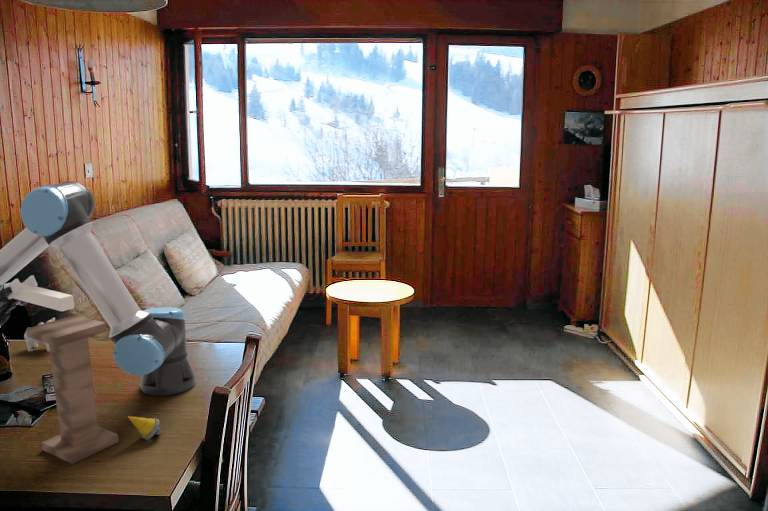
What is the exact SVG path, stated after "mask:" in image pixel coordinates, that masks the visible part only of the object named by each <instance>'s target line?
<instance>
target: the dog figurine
mask: <svg viewBox="0 0 768 511" xmlns="http://www.w3.org/2000/svg"><path fill="white" fill-rule="evenodd" d="M55 320H56V317H52V318H51V319H49V320H47V321H46V322H45V323H48V322H52V321H55ZM45 323H44V322H39V323H38V324H37V325H41V324H45ZM23 338H24V340H25V344H26V349H27V352H33V351H34V350H33V348H39V345H38V342H40V343H42V344H44V345H45V348H46V352H49V353H50V350H49V344H48V343H44V342H41V341H38V340H35V339H32V338H29V337H27V330H25V332H24V335H23ZM32 346H33V348H32Z"/></svg>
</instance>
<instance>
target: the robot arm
mask: <svg viewBox="0 0 768 511" xmlns="http://www.w3.org/2000/svg"><path fill="white" fill-rule="evenodd" d="M95 208H96V202H95V197H94V195H93V193H92V191H91V190H90V189H89V188H88V187H87V186H86V185H84V184H83V183H80V182H76V181H70V180H68V181H63V182H58V183H54V184H44V185H41V186H40V187H37V188H34V189H32V190H30V191H29V192H28V193H27V194H26V195H25V197H24V198H23V199H22V202H21V207H20V211H19V212H20V217H21V221H22V223H23V225H24V226H25V228H23V229H22V230H21V231H20V232H19V233H18V234H17V235H16V236H14V238H12V239H11V240H10V241H9V242H7V244H5V245H4V246H3V247H2V248H1V249H0V327H1V326H2V325H4V324H5V323H6V322H7V321H8V320H9V318H10V316H11V311H12V310H14V309H16V307H17V306H18V305H19V306H21V307H22V306H23V307H26V306H27V305H28V302H25V301H21V300H17V299H14V298H13V297H14V296H15V295H16V294H17V293H18V292H19V291H21V290H22V286H21V284H20V283H21V282H20V280H19V278H15V279H14V280H12V281H11V282H9V283H10V284H9V285H8V286H7V287H6V288H5V289H4V284H7V282H8V281H9V280H11V279H12V278H13V277H14V276H16V275H17V273H19V272H20V271H22V270H23V268H25V267H26V266H27V265H28V264H30V262H32V261H33V260H34V259H35V258H37V257H38V256H39V255H40V254H42V253H43V252H44V251H45V250H46V249H47V248H48V247H52V248H56V249H58V250H59V251H60V253H61V254H62V256H63V258H64V259H65V261H66V262H67V264H68V265H69V267H70V268H71V269H72V271H73V273H74V274H75V276H76V277H77V279H78V280H79V282H80V284H81V285H82V287H83V288H84V289H85V291H86V292H87V294H88V296H89V297H90V299H91V300H92V302H93V303H94V305H95V306H96V307H97V309H98V311H99V312H100V314H101V315H102V317H103V318H104V320H105V322H106V324H107V325H108V326H109V328H110V330H109V335H108V337H109V339H110V341H111V342H112V344H113V345H114V347H113V356H112V357H113V360H114V361H115V364H116V365H117V367H118V368H119V369H120V370H122V371H123V372H124V373H126V374H129V375H133V376H141V379H140V390H141V392H142V393H144V394H145V395H147V396H148V395H149V396H154V397H155V396H156V397H158V396H159V397H163V396H166V397H167V396H172V395H177V394H180V393H185V392H186V391H189V390H190V389H192V388H194V386H195V385H196V382H197V380H196V373H195V371H194V368H193V367H192V364H191V361H190V360H189V356H188V346H187V334H186V331H187V330H186V318H185V313H184V310H183V309H181V308H180V307H175V306H173V307H172V306H171V307H170V306H169V307H168V306H167V307H166V306H164V307H163V306H162V307H161V306H160V307H153V308H151V307H150V308H147V309H144V310H142V309H141V308H140V307H139V305H138V304H137V302H136V300H135V299H134V298H133V296H132V295H131V292H130V291H129V290H128V288H127V287H126V286H125V284H124V282H123V280H122V279H121V276H119V274H118V272H117V271H116V269H115V267H114V266H113V265H112V263H111V261H110V260H109V258H108V257H107V255H106V254H105V252H104V251H103V249H102V248H101V246H100V244H99V243H98V241H97V240H96V238H95V236H94V235H93V234H92V232H91V230H92V226H93V222H92V221H91V219H90V218H91V217H92V215H93V214H94V211H95ZM22 283H23V284H28V285H32V286H36V287H39V286H38V282H37V280H36V278H35V275H34V274H33V275H30V276H28V278H26V279H25V280H24V281H22Z"/></svg>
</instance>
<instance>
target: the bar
mask: <svg viewBox="0 0 768 511" xmlns="http://www.w3.org/2000/svg"><path fill="white" fill-rule="evenodd" d="M10 283H11V282H8V283H7V282H6V283H5V284H4V285H3V290H4V289H5V288H6V287H7V286H8V285H9V284H10ZM20 284H21V286H22V290H21V291H19V292H18V293H17V294H16V295H15V296H14V297H13V298H14V299H17V300H21V301H25V302H27V304H28V303H29V304H33V305H37V306H41V307H42V308H43V307H44V308H48V309H52V310H55V311H58V312H65V311H68V310H70V311H71V310H72V309H75V301H74V295H72V294H69V293H64V292H61V291H57V290H52V289H48V288H45V287H39V286H32V285H28V284H23V282H20Z"/></svg>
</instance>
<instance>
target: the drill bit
mask: <svg viewBox="0 0 768 511" xmlns="http://www.w3.org/2000/svg"><path fill="white" fill-rule="evenodd" d="M127 418H128V419H129V421H131V423H132V424H133V426H134V427H135V428H136V429H137V431H138V432H139V433H140V436H141V438H142V439H144V440H146V441H147V440H150V439H151V438H152V437H154V435H155V436H156V435H157V436H159V435H162V434H161V432H162V429H161V428H160V427H159V426H160V419H159V418H156V417H151V418H147V417H141V416H139V417H138V416H131V415H129V416H127Z"/></svg>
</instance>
